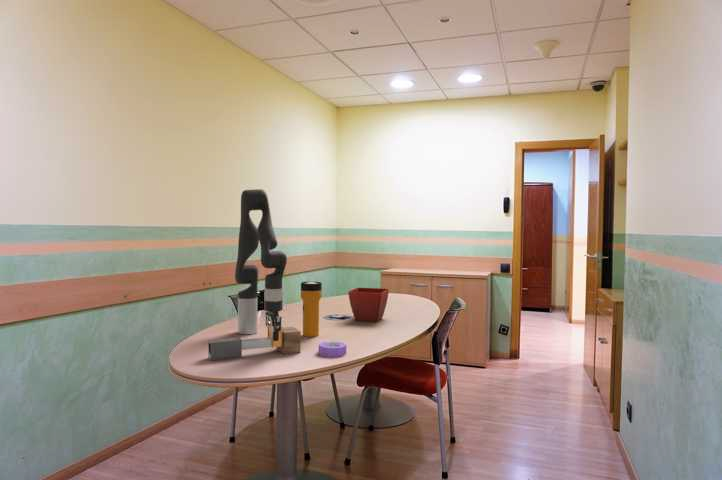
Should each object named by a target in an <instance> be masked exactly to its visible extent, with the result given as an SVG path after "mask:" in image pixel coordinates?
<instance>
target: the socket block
mask: <svg viewBox="0 0 722 480" xmlns="http://www.w3.org/2000/svg"><path fill="white" fill-rule="evenodd" d="M282 327H283V326H282ZM301 335H302V333H301V330H299V329H298V328H296V327H294V326H285V327H283V338H282V346H280V347H276V350H278V352H280V351H281V352H280V353H282V354H283V355H291V353H292V354H300V353H301V341H302V340H301V337H302V336H301ZM299 352H300V353H299Z"/></svg>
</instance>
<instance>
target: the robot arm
mask: <svg viewBox="0 0 722 480" xmlns="http://www.w3.org/2000/svg"><path fill="white" fill-rule="evenodd" d="M270 209H271V208H270V202H269V198H268V195H267V192H266V191H265V189H255V188H254V189H245V190H243V191H242V192H241V195H240V223H239V231H238V232H239V233H238V241H237V242H238V245H237V246H238V248H237V258H236V259H237V260H236V263H235V264H236V265H235V270H234V280H235V283H236V284H238V285H249V286H248V287H247V288H245V289H243V290H240V291H238V294H237V333H238V335H239V334H240V335H254V334H257V333H258V284H259V283H258V282H259V269H258V265H256V264H246V263H247V261H248V259H249V258H250V257H251V256H252V255H253V254H254V253H255V252H256V250H257V249H258V247H259V244H260V263H261V265H262V267H264V269H274V271H273V272H271V273H268V274H266V275H265V278H264V299H263V300H264V301H263V305H264V307H263V308H264V309H263V310H264V311H265V326H266V328H267V334H268V333H269V325H271V327H272V328H273V341H278V340H279V331H281V326H282V316H280V315H279V312H281V311H282V310H283V307H284V304H283V297H284V294H283V277H284V274H285V273H284V272H285V270H286V266H287V261H288V259H287V255H286V253H285V252H284V251H282V250H275V248H277V247H278V240H277V237H276V234H275V231H274V227H273V223H272V221H273V220H272V215H271V210H270ZM251 211H261V213H262V214H261V215H262V216H261V219H260V222H259V224H258V226H256V224H255V223H254V222H253V220H252V218H251V217H250V212H251ZM273 250H274V251H273ZM276 326H277V328H276Z"/></svg>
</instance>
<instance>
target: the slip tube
mask: <svg viewBox="0 0 722 480" xmlns="http://www.w3.org/2000/svg"><path fill="white" fill-rule="evenodd" d="M276 328H277V326H276ZM282 338H283V326H282V325H281V331H279V340H278V341H273V328H272V327H271V325H269V333H268V332H267V336H265V337H256V338H246V339H245V338H244V339H241V340H242V351H247V350H255V349H256V350H257V349H265V348H277V347H280V346H282Z"/></svg>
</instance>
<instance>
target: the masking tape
mask: <svg viewBox="0 0 722 480" xmlns="http://www.w3.org/2000/svg"><path fill="white" fill-rule="evenodd" d="M347 346H348V345H347V343H345V342H341V341H333V340H331V341H323V342H319V343H318V355H320V356H323V357H330V358H332V357H334V358H335V357H336V358H337V357H343V356H345V355H346V354H347Z"/></svg>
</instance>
